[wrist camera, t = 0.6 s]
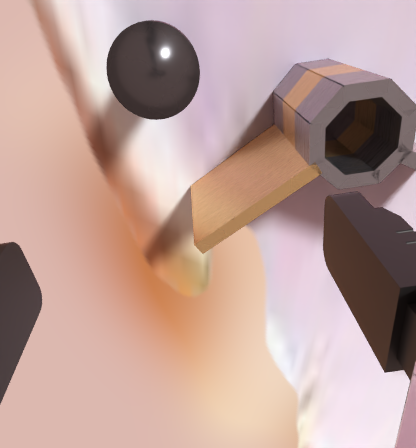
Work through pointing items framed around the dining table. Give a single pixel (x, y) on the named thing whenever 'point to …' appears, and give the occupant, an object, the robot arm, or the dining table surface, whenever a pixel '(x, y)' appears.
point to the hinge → (309, 146)
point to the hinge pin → (153, 69)
